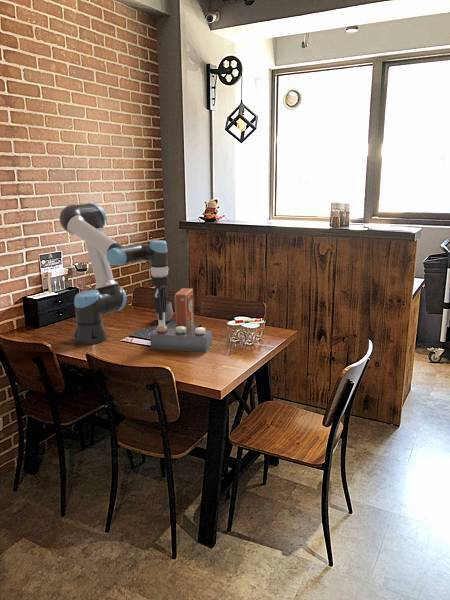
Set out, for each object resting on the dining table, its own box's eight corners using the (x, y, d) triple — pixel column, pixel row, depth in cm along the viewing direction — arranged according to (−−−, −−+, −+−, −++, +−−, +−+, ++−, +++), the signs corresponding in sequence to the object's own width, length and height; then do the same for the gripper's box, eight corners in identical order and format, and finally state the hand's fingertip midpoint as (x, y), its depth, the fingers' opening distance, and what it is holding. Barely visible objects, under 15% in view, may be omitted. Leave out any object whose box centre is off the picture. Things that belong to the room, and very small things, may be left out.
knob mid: (175, 346, 227) (174, 328, 225) (178, 342, 231) (177, 325, 229) (184, 346, 226) (184, 329, 224) (187, 343, 230) (187, 326, 228)
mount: (150, 348, 227) (150, 334, 225) (158, 341, 236) (157, 327, 234) (206, 352, 222) (206, 337, 220) (211, 344, 231) (211, 330, 229)
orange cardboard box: (195, 328, 255) (187, 338, 241) (182, 328, 256) (173, 337, 242) (194, 288, 250) (186, 295, 236) (181, 287, 251) (172, 294, 237)
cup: (164, 317, 276) (163, 299, 274) (176, 319, 271) (176, 302, 269) (152, 321, 269) (151, 303, 267) (165, 324, 264) (164, 305, 261)
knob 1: (156, 345, 229) (155, 327, 227) (159, 341, 233) (158, 324, 231) (165, 345, 228) (165, 328, 226) (168, 342, 232) (168, 325, 230)
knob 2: (194, 347, 225) (193, 330, 223) (196, 344, 230) (196, 327, 227) (204, 348, 224) (203, 330, 222) (206, 344, 229) (206, 327, 227)
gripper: (163, 278, 216) (165, 331, 221) (172, 272, 228) (174, 322, 234) (146, 278, 217) (149, 330, 223) (156, 272, 229) (158, 321, 235)
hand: (161, 326), depth 228 cm, fingers closed
